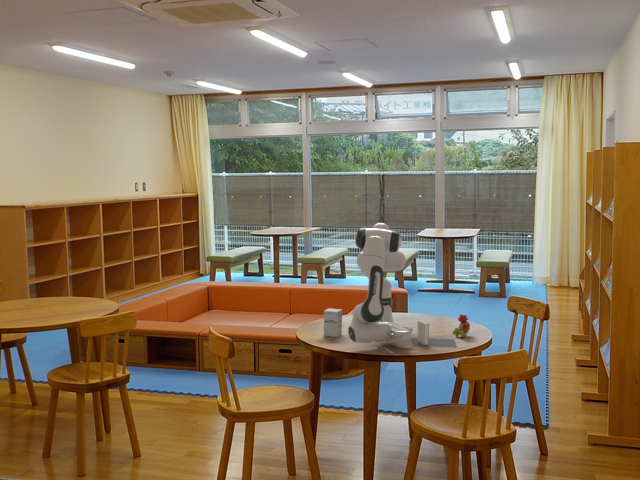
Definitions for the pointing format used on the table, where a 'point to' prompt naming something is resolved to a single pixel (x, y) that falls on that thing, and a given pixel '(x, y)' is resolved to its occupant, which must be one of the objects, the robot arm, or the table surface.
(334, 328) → the supplement box
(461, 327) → the bird rattle
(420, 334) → the tile
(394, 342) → the table surface
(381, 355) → the table surface
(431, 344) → the rubber mat
